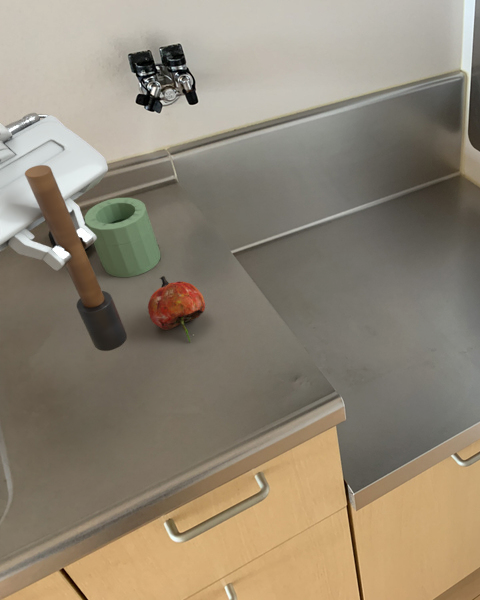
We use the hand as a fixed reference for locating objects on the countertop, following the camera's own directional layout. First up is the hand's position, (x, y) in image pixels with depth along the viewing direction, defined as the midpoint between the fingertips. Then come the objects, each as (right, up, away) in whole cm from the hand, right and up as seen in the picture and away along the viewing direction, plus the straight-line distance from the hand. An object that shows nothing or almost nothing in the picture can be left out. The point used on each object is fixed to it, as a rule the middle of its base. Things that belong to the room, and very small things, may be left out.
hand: (77, 254), depth 62 cm
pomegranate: (+2, -8, +24) cm, 26 cm away
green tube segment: (-10, +2, +36) cm, 37 cm away
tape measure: (-20, +4, +39) cm, 44 cm away
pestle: (-1, -9, +9) cm, 13 cm away
